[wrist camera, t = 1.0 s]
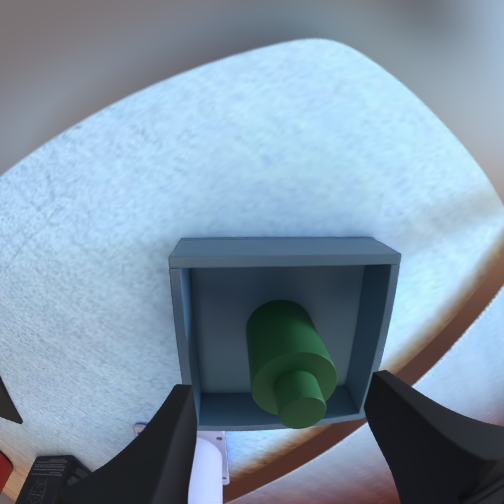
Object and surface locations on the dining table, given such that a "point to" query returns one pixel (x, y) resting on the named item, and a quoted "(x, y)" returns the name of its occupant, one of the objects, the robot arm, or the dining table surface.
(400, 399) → the robot arm
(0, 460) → the beer can
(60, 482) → the box
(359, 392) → the case
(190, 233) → the dining table surface
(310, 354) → the bottle
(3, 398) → the mat
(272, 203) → the dining table surface
